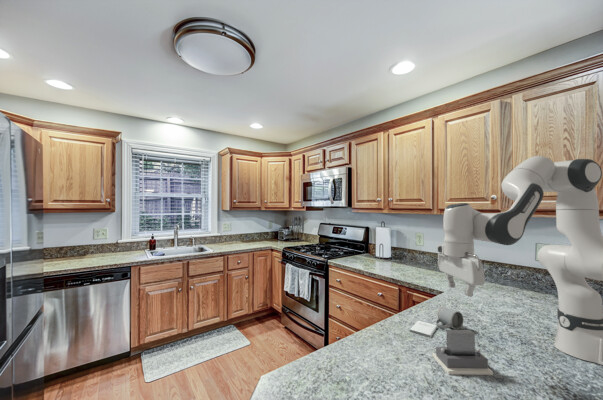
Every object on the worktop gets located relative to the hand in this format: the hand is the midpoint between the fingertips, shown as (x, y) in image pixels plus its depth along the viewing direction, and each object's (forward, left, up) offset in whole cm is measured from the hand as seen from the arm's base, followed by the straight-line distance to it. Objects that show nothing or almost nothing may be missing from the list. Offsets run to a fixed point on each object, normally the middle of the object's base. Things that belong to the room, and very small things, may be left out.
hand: (459, 291), depth 86 cm
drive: (0, 0, -23) cm, 23 cm away
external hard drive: (0, -26, -25) cm, 36 cm away
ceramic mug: (-12, -29, -25) cm, 40 cm away
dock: (0, 0, -24) cm, 24 cm away
